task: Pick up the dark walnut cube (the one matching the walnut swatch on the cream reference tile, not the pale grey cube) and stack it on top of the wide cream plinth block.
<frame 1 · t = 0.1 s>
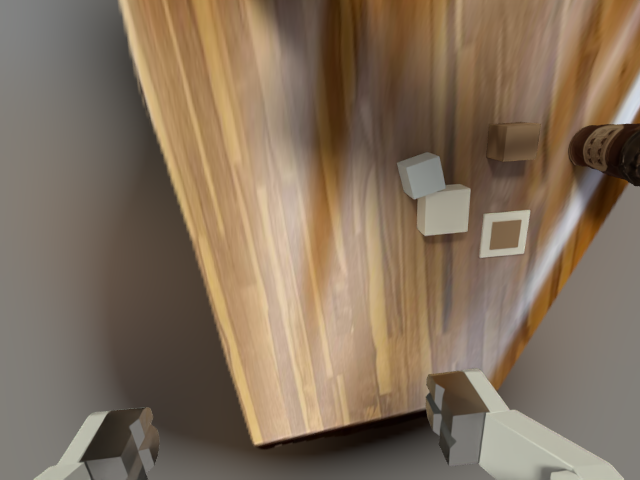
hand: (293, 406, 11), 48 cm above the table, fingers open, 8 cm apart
plinth block: (437, 206, 60), on the table
coffee cup: (584, 145, 59), on the table
grey cube: (415, 172, 58), on the table
reference tile: (503, 233, 63), on the table
walnut cube: (502, 139, 57), on the table
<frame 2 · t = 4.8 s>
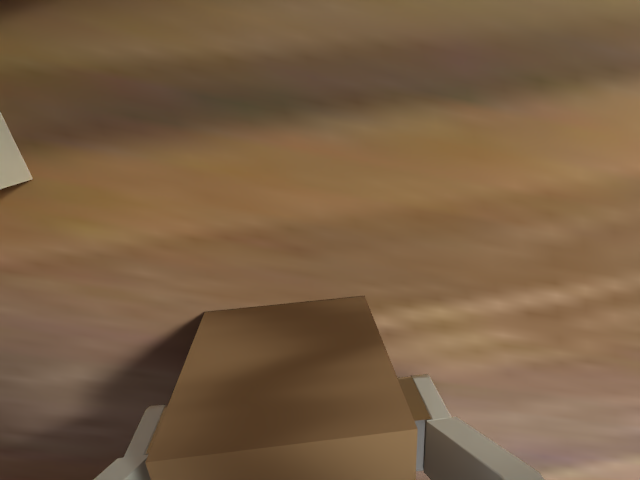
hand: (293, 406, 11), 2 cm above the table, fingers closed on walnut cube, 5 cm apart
walnut cube: (292, 368, 12), on the table, touching gripper
when the fingers open (7 cm above the table, at t = 10.1 s): walnut cube drops 1 cm, resting on plinth block.
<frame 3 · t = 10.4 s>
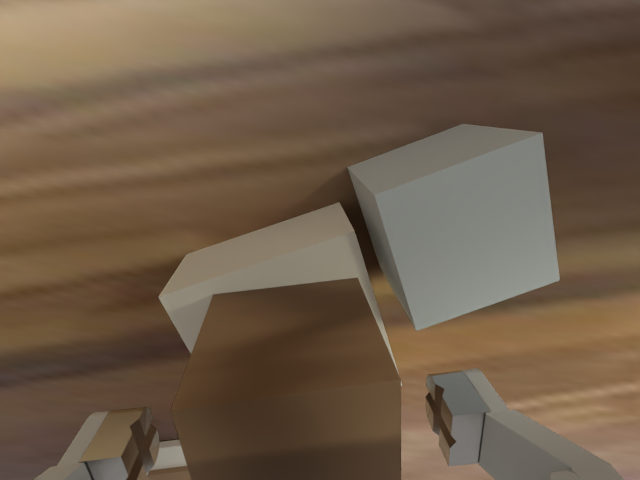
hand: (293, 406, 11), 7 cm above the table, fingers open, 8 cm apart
plinth block: (289, 292, 17), on the table, touching walnut cube
grey cube: (418, 200, 16), on the table
walnut cube: (294, 345, 13), point 4 cm above the table, touching plinth block
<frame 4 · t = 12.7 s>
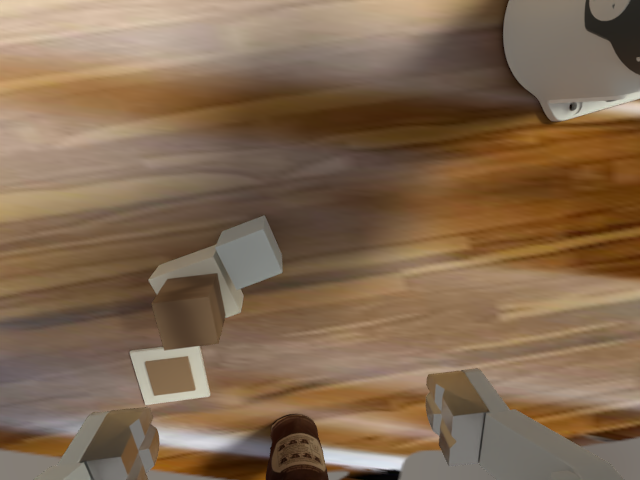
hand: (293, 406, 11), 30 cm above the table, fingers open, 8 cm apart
plinth block: (203, 279, 41), on the table, touching walnut cube
coffee cup: (293, 428, 50), on the table
grey cube: (252, 242, 40), on the table
reference tile: (172, 373, 45), on the table
walnut cube: (197, 297, 38), point 4 cm above the table, touching plinth block
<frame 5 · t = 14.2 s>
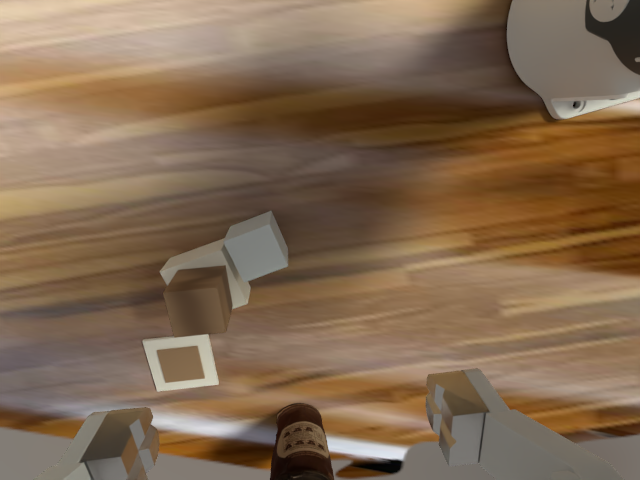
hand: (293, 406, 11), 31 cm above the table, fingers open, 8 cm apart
plinth block: (212, 272, 43), on the table, touching walnut cube
coffee cup: (298, 417, 52), on the table
grey cube: (259, 237, 42), on the table
reference tile: (182, 361, 47), on the table
walnut cube: (206, 288, 39), point 4 cm above the table, touching plinth block
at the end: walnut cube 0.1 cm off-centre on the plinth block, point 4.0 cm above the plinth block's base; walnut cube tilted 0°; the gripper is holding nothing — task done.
